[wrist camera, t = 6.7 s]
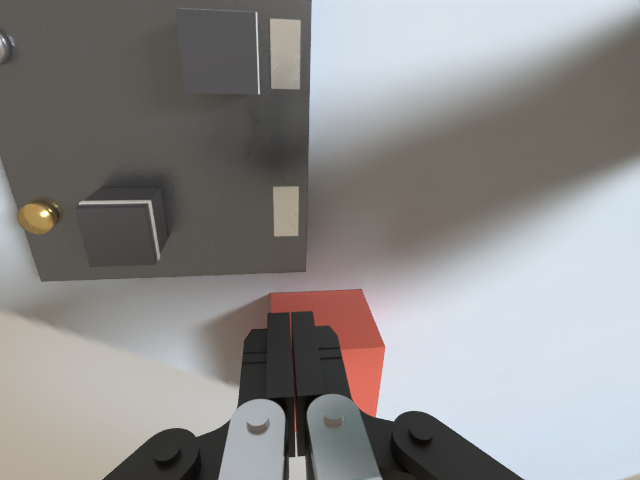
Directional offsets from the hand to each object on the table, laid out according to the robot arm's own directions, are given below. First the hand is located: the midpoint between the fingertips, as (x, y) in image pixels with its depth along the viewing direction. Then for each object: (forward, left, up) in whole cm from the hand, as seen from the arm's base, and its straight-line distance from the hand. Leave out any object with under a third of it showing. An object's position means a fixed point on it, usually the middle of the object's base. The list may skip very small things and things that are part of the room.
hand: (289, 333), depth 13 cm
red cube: (-3, +10, -12) cm, 16 cm away
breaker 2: (+2, -8, -10) cm, 13 cm away
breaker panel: (+6, -4, -12) cm, 14 cm away
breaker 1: (+8, 0, -10) cm, 13 cm away
